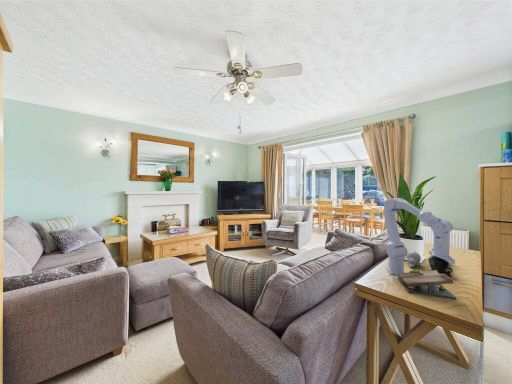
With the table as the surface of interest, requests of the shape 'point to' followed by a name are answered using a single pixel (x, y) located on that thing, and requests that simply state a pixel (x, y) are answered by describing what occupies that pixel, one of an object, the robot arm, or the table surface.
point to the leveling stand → (429, 290)
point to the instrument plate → (424, 278)
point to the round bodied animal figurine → (413, 258)
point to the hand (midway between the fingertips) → (440, 273)
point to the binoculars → (436, 269)
